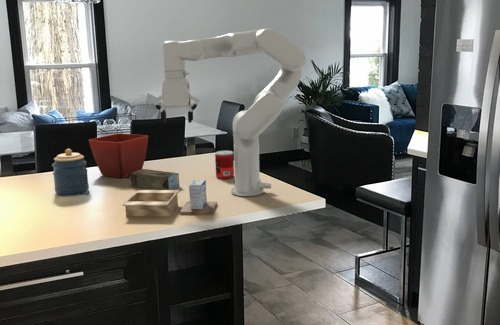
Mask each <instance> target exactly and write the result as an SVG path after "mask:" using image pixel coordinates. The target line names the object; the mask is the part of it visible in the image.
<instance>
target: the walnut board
mask: <svg viewBox="0 0 500 325" xmlns="http://www.w3.org/2000/svg"><path fill="white" fill-rule="evenodd" d="M217 206H218V201H207V203H206V205H205V206H204V208H203V209H190V201H186V202H185V204H184V205H183V206H182V208H181V210H180V211H179V215H183V216H184V215H187V216H188V215H195V216H196V215H197V216H198V215H199V216H200V215H205V216H206V215H213V213H214V212H215V210H216V207H217Z"/></svg>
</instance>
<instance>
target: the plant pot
mask: <svg viewBox="0 0 500 325" xmlns="http://www.w3.org/2000/svg"><path fill="white" fill-rule="evenodd" d="M88 143H89V147H90V150H91V153H92V156H93V159H94V161H95V163H96V165H97V168H98V170H99V171H100V173H101V175H102V176H104V177H110V178H118V179H119V178H120V179H122V178H127V177H131V173H132V172H135V171H137V170H140V169H144V168H143V167H144V163H145V159H146V157H147V156H146V155H147V151H148V146H149V145H148V143H149V135H146V134H132V133H119V132H118V133H113V134H107V135H105V136H103V135H102V136H100V137H99V136H98V137H95V138H90V139H88Z"/></svg>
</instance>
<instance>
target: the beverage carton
mask: <svg viewBox="0 0 500 325" xmlns="http://www.w3.org/2000/svg"><path fill="white" fill-rule="evenodd" d="M179 174H180V173H178V172H173V171H172V172H171V171H164V170H163V171H161V170H155V169H148V168H146V169H145V168H142V169H140V170H137V171H135V172H132V173H131V175H130V184H131V187H133V188H141V189H147V190H176V189H178V188H180V175H179Z"/></svg>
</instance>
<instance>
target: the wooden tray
mask: <svg viewBox="0 0 500 325" xmlns="http://www.w3.org/2000/svg"><path fill="white" fill-rule="evenodd" d="M179 191H180V189H173V190H156V189H138V190H136V191H135V192H134V193H133V194H132V195H131V196H129V198H128V199H126V201H124V202H123V203H122V206H123V207H125V216H126V217H172V215H173V214H174V212H175V210H176V209H177V208H178V207H179V202H178V200H179V199H178V193H179Z"/></svg>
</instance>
